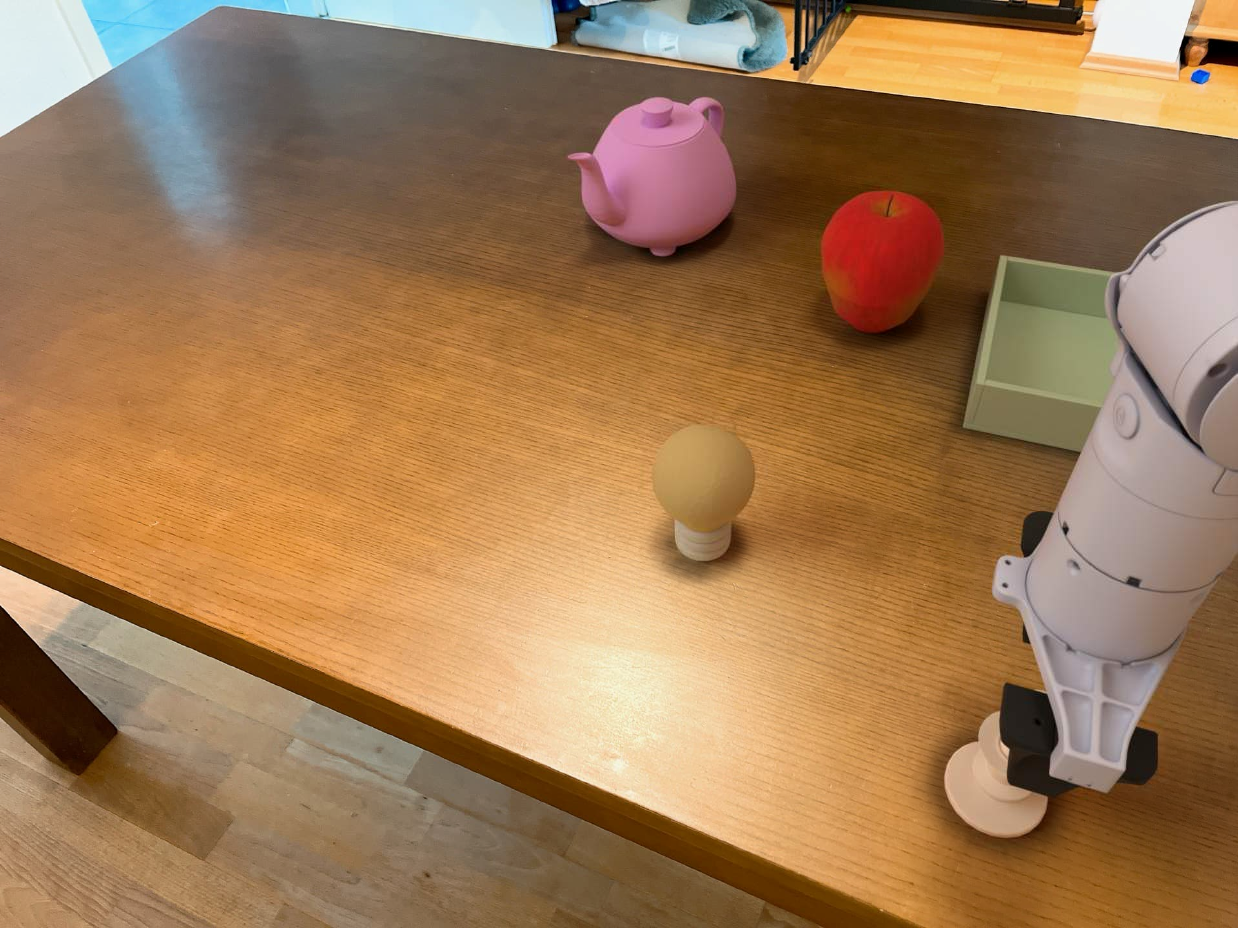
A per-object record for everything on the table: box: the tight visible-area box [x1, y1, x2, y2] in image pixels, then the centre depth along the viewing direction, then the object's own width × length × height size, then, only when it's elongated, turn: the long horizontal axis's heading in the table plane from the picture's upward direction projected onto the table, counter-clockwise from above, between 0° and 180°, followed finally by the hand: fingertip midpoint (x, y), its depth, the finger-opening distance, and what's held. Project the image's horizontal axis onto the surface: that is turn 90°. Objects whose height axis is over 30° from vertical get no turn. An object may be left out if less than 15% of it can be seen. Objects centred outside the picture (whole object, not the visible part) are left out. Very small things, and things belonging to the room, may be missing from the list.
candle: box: [943, 688, 1049, 839], centre depth 46 cm, size 5×5×10 cm
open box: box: [962, 254, 1118, 453], centre depth 70 cm, size 13×16×4 cm
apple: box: [820, 190, 946, 334], centre depth 73 cm, size 9×9×12 cm
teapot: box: [567, 96, 737, 257], centre depth 84 cm, size 20×14×12 cm
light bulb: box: [651, 423, 756, 562], centre depth 59 cm, size 6×6×10 cm
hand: (1038, 709), depth 43 cm, fingers open, 7 cm apart
